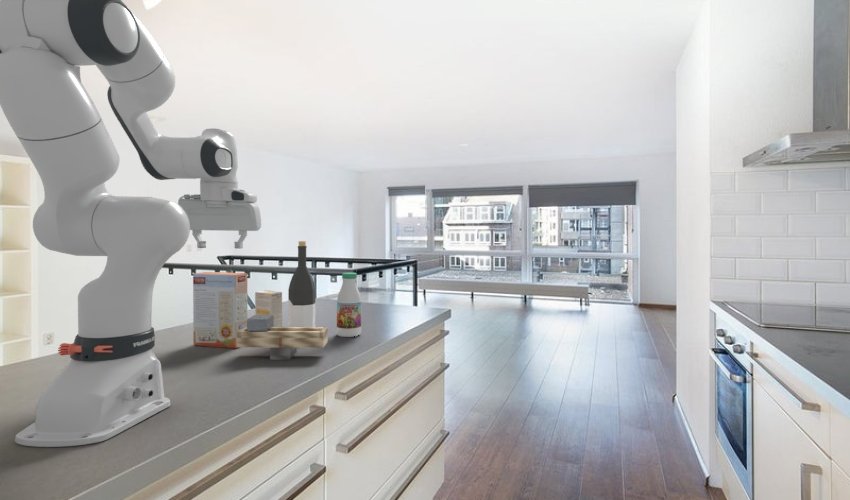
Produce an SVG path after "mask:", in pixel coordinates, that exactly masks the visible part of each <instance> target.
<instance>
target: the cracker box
mask: <svg viewBox="0 0 850 500" xmlns="http://www.w3.org/2000/svg"><path fill="white" fill-rule="evenodd" d="M192 284H193V285H192V286H193V290H192V292H193V293H192V297H193V298H192V302H193V305H192V308H193V309H192V310H193V311H192V313H193V324H192V325H193V333H192V335H193V346H200V347H215V348H225V349H237V348H238V347H237V332H238V331H240V330H241V329H243V328H245V327H247V319H248V273H246V272H224V271H223V272H222V271H221V272H219V271H218V272H217V271H202V272H201V271H200V272H196V273H193V275H192Z"/></svg>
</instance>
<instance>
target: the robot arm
mask: <svg viewBox="0 0 850 500" xmlns="http://www.w3.org/2000/svg"><path fill="white" fill-rule="evenodd" d="M81 66H86V67H87V66H96V68H97V69H98V70H99V72H100V73H101V74H102V75H103V77H104V78H105V79H106V81H107V82H108V84H109V86H108V88H107V100H108V103H109V105H110V106H109V107H110V108H111V110H112V112H113V114H114V116H115V117H116V119H117V121H118V123H119V124H120V126H121V128H123V129H122V130H123V131H124V132H125V134H126V136H127V137H128V139H129V141H130V142H131V144H132V145H133V147H134V149H135V150H136V152H137V154H138V158H139V160H140V163H141V165H142V168H143V169H144V170H145V171H146V172H147V173H148V174H149V175H150V176H151V177H152V178H154V179H156V180H159V181H164V180H165V181H166V180H176V179H177V180H178V179H183V180H184V179H185V180H186V179H187V180H188V179H193V180H194V179H195V180H196V179H200V180H199V186H200V188H199V190H200V191H199V193H200V194H197V193H195V194H189V193H188V194H186V193H185V194H183V195H182V196H181V197H179V199H178V202H176V201H175V202H174V201H171V200H166V199H163V198H157V197H152V196H151V197H150V196H124V195H123V196H115V195H113V194H111V193H110V192H109V191H108V190H107V188H106V186H105V183H106V182H108V181H109V180H110V179H112V177H114V175H116V173H117V171H118V169H119V165H120V154H119V153H118V150H117V148H116V146H115V144H114V142H113V140H112V137H111V135H110V134H109V132H108V129H107V127H106V125H105V123H104V121H103V119H102V116H101V115H100V113H99V110H98V109H97V107H96V105H95V103H94V102H93V100H92V98H91V96H90V95H89V93H88V91H87V90H86V88H85V86H84V85H83V83H82V79H81ZM175 86H176V76H175V72H174V69H173V68H172V65H171V63H170V61H169V60H168V58H167V56H166V55H165V54H164V52H163V50H162V49H161V47H160V46H159V45H158V42H157V41H156V39H155V38H154V37H153V35H152V34H151V33H150V31H149V30H148V28H146V26H145V25H144V24H143V23H142V21H141V20H140V19H139V18H138V17H137V15H135V13H134V12H133V11H132V10H131V9H130V8H129V6H128V5H126V4H125V2H124V1H123V0H0V108H1V109H2V113H3V114H4V117H5V118H6V120H7V121H8V123H9V124H8V125H10V127H11V129H12V131H13V132H14V135H16V137H17V139H18V140H19V142H20V143H21V147H23V149H24V150H25V152H26V154H27V156H28V157H29V159H30V161H31V162H32V164H33V166H34V169H35V170H36V171H37V174H38V176H39V177H40V179H41V182H42V186H43V192H44V200H43V202H42V204H41V205H40V206H38V208H37V209H36V211H35V213H34V215H33V217H32V229H33V233H34V234H33V235H34V236H35V238H36V240H37V241H38V242H39V244H40V245H41V246H42V247H43V248H45V249H47V250H50V251H53V252H57V253H62V254H66V255H71V256H76V257H79V256H80V257H107V258H106V264H105V267H104V270H103V271H102V272H101V274H100V275H99V277H97V278H95V279H92V280H91V281H89V282H87V284H85V285H83V286H82V288H81V289H80V290H79V293H78V294H77V328H78V329H77V333H78V334H76V336H75V337H74V340H73V341H74V342H72V343H68V342H67V343H66V342H63V343H60V344H59V346H58V347H57V348H58V350H57V352H58V353H57V354H59V356H69V358H70V360H69V362H68V363H67V365H66V366H65V367H64V368H63V370H61V372H60V373H59V374H58V375H57V376H56V377H55V379H54V380H53V381H52V382H51V383H50V385H49V386H48V387H47V388H46V390H44V392H43V393H41V395H40V396H39V398H38V400H37V404H36V412H35V421H34V422H32V423H31V424H30V425H28V426H26V427H25V428H24V429H22V430H21V431H19V432H18V433H17V434H16V435H15V438H14V442H15V443H16V444H18V445H21V446H28V447H37V448H38V447H39V448H43V447H44V448H49V447H50V448H52V447H53V448H55V447H73V446H82V445H89V444H90V445H91V444H96V443H101V442H103V441H107V440H109V439H110V438H113V437H115V436H116V435H118V434H120V433H122V432H124V431H126V430H128V429H129V428H131V427H133V426H134V425H135V426H136V425H137V424H138V423H140V422H143V421H144V420H146V419H147V418H150V417H152V416H154V415H156V414H157V413H159V412H161V411H163V410H165V409H167V408H169V407H170V406H171V400H170V398H169V397H165V390H164V382H163V381H164V380H163V373H162V364H161V362H160V360H159V359H158V358H157V356H156V355H155V352H154V347H155V344H156V343H155V339H156V334H155V329H154V327H153V325H152V310H153V309H152V308H153V293H154V287H155V284H156V280H157V278H158V275H159V274H160V272H161V270H162V268H163V266H164V265H165V264H166V262H167V261H169V259H170V258H171V257H173V256H174V255H175V254H176V253H178V252H179V251H181V249H183V247H185V245H186V244H187V242H188V239H189V236H190V232H191V231H192V232H191V233H192V236H193V238H194V240H195V241H196V245H197V249H206V248H207V245H206V244H207V241H206V240H203V238H202V236H201V235H202V234H203V233H202V231H228V232H229V231H230V232H231V231H233V232H234V231H235V232H238V236H239V238H238V240H237V241H234V249H240V250H241V249H243V246H244V244H243V242H244V241H245V239H246V238H247V236H248V232H258V231H259V230H260V229H261V228H262V219H261V217H262V216H261V210H260V208H259V206H258V205H257V202H258V201H257V200H258V196H257V195H256V194H254V193H252V192H251V193H250V192H248V191H245V190H243V189H239V183H238V179H237V170H238V167H239V166H238V162H239V161H238V152H237V151H238V150H237V143H236V141H235V136H234V135H233V134H232V133H231V132H229V131H227V130H223V129H221V128H206V129H204V130H203V131H202V133H201V135H199V136H198V135H197V136H193V137H192V136H189V137H176V136H175V137H172V136H171V137H170V136H166V135H163V134H160V133H158V132H157V130H156V127H155V126H154V124H153V123H152V121H151V119H150V117H149V114H148V113H147V112H150V111H154V110H156V109H158V108H160V107H161V106H162V105H164V104H165V103H166V102H167V101H168V100H169V98H171V97H172V95H173V92H174V91H175V88H176V87H175Z"/></svg>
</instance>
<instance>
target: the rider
mask: <svg viewBox="0 0 850 500" xmlns="http://www.w3.org/2000/svg"><path fill="white" fill-rule="evenodd" d="M273 326H274V315H255V314H254V315H252V316H251V317H249V318H248V317H247V331H270V328H272V327H273Z"/></svg>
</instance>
